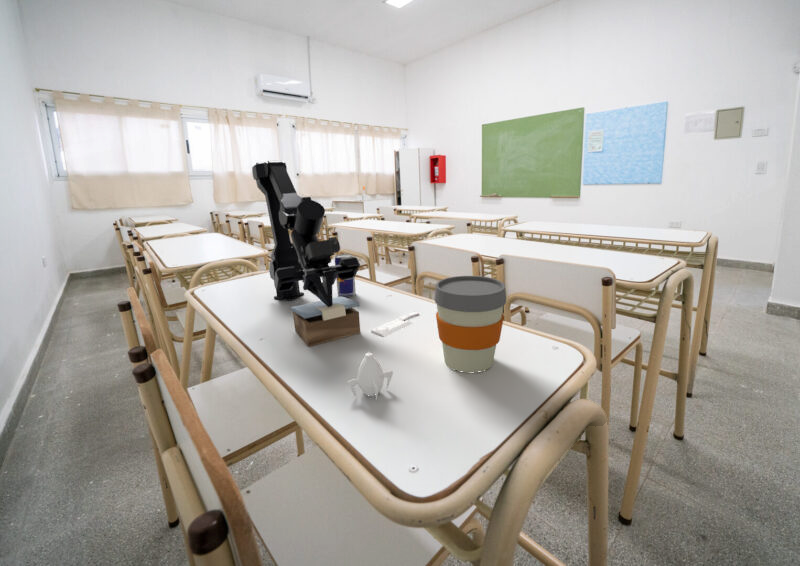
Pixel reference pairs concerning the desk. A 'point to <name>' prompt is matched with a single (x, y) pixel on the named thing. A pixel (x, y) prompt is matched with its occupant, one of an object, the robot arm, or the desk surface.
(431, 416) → the desk surface
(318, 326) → the box
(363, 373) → the rocket toy
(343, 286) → the energy drink
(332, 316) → the lid
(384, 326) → the white plastic blade
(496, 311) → the reusable coffee cup
